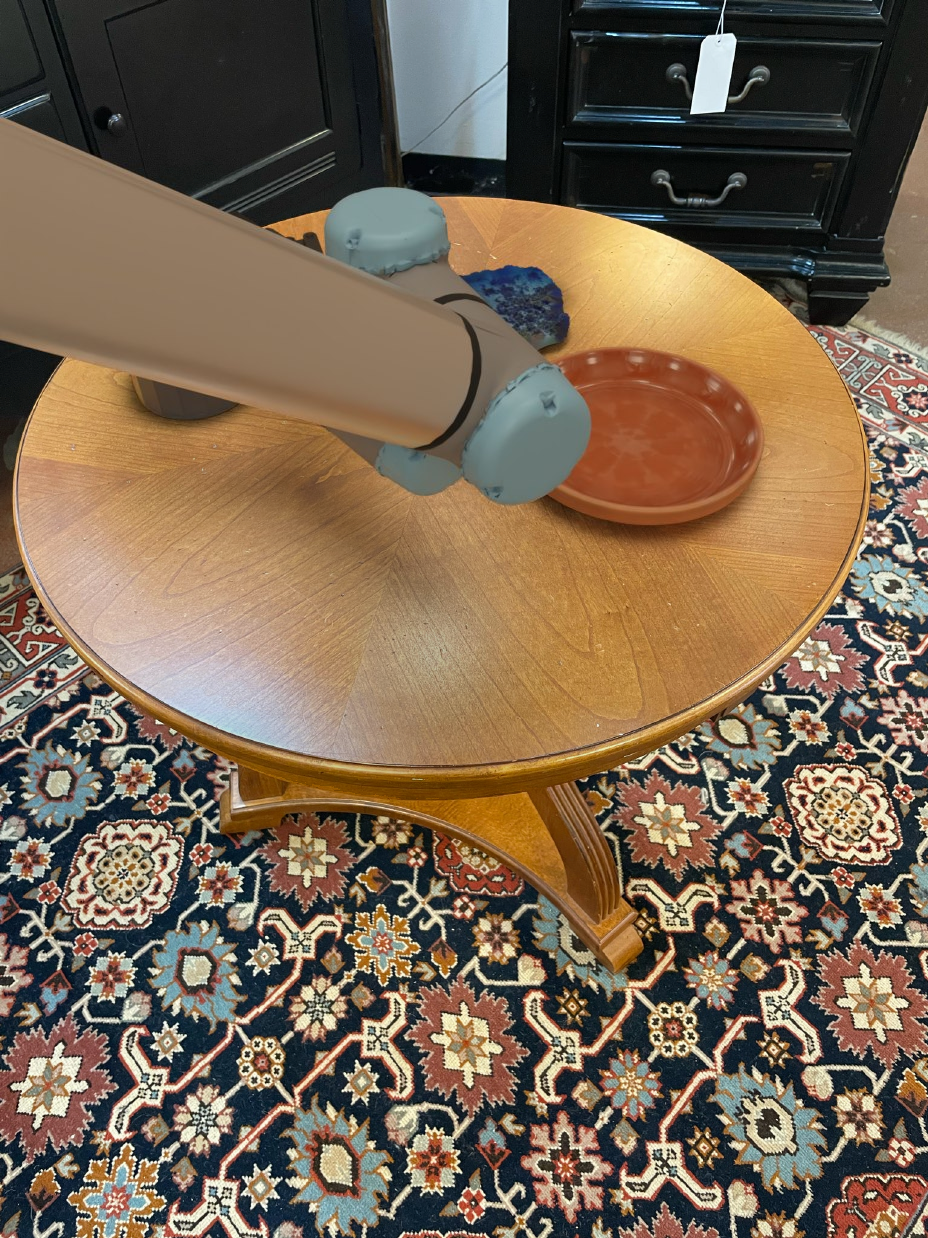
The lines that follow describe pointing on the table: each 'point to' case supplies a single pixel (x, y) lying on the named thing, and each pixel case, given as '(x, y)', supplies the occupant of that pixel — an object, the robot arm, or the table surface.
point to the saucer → (658, 437)
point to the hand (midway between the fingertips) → (168, 252)
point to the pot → (178, 400)
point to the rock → (524, 302)
